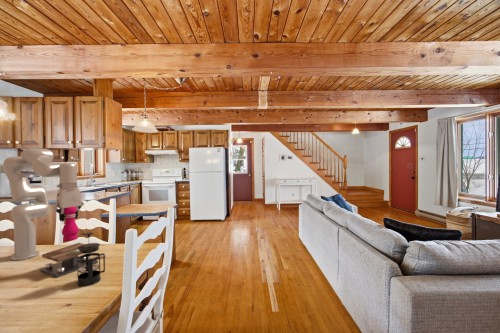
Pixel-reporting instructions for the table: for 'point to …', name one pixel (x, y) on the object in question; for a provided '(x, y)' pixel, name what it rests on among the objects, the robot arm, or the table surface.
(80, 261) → the french press
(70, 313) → the table surface
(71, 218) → the pepper mill
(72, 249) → the board
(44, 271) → the board stand
